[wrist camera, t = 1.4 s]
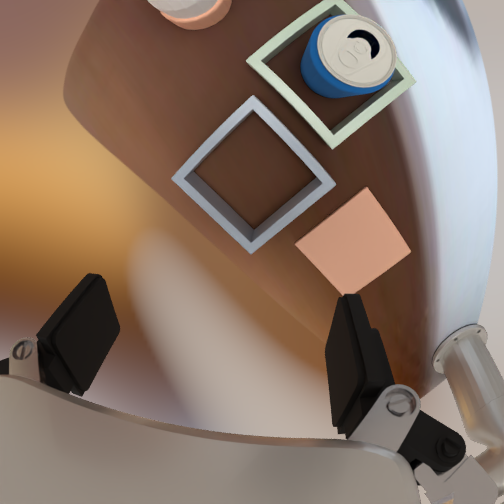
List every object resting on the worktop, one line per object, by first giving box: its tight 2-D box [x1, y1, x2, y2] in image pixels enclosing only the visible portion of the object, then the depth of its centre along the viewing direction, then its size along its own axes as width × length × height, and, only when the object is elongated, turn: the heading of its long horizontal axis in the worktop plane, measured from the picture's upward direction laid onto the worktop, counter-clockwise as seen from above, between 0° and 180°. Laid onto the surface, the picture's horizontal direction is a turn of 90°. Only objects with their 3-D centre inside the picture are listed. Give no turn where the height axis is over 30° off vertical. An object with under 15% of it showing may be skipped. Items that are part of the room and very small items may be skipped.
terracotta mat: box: [295, 187, 411, 295], centre depth 34 cm, size 11×11×1 cm
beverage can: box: [300, 14, 397, 98], centre depth 20 cm, size 6×6×12 cm
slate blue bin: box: [171, 95, 336, 254], centre depth 30 cm, size 12×12×4 cm
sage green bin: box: [246, 0, 416, 149], centre depth 23 cm, size 12×12×4 cm
